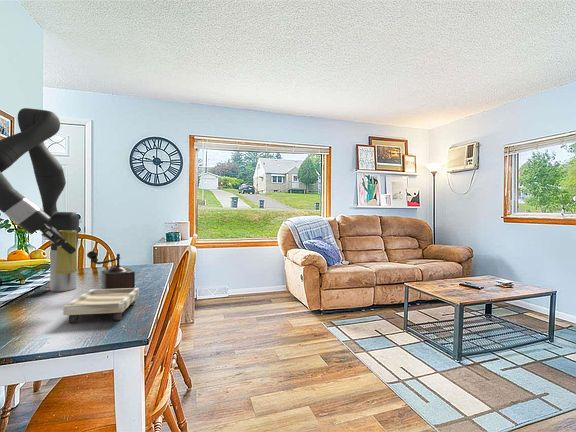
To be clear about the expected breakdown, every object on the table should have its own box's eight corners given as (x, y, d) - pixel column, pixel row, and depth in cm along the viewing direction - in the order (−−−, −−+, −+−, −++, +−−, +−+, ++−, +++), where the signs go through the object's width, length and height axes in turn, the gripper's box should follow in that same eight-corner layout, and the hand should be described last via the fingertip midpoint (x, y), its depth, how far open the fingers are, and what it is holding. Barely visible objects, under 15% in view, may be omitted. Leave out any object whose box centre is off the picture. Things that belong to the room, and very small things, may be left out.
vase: (65, 274, 99) (66, 231, 99) (50, 273, 101) (51, 230, 101) (81, 271, 105) (82, 230, 105) (67, 270, 107) (68, 229, 107)
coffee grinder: (127, 288, 133) (127, 248, 133) (135, 293, 125) (136, 250, 125) (85, 294, 122) (86, 250, 122) (91, 300, 114) (92, 253, 114)
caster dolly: (90, 305, 109) (90, 289, 109) (138, 303, 113) (138, 287, 112) (63, 325, 89) (63, 306, 89) (122, 322, 93) (122, 303, 93)
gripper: (38, 207, 93) (84, 245, 100) (40, 207, 104) (81, 241, 112) (14, 225, 90) (64, 262, 97) (19, 223, 101) (63, 256, 108)
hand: (73, 251), depth 104 cm, fingers closed on vase, 5 cm apart
